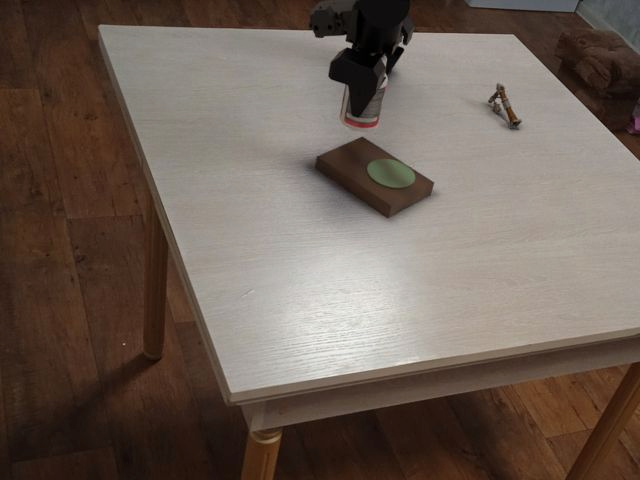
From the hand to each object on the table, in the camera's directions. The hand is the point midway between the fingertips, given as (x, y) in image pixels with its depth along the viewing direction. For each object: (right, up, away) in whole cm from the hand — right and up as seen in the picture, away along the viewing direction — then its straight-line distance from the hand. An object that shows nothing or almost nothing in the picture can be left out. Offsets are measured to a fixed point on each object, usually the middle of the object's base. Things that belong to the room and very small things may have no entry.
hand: (361, 107), depth 112 cm
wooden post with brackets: (+23, +7, +29) cm, 38 cm away
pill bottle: (-1, -2, +2) cm, 3 cm away
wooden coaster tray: (+1, -9, +7) cm, 11 cm away
